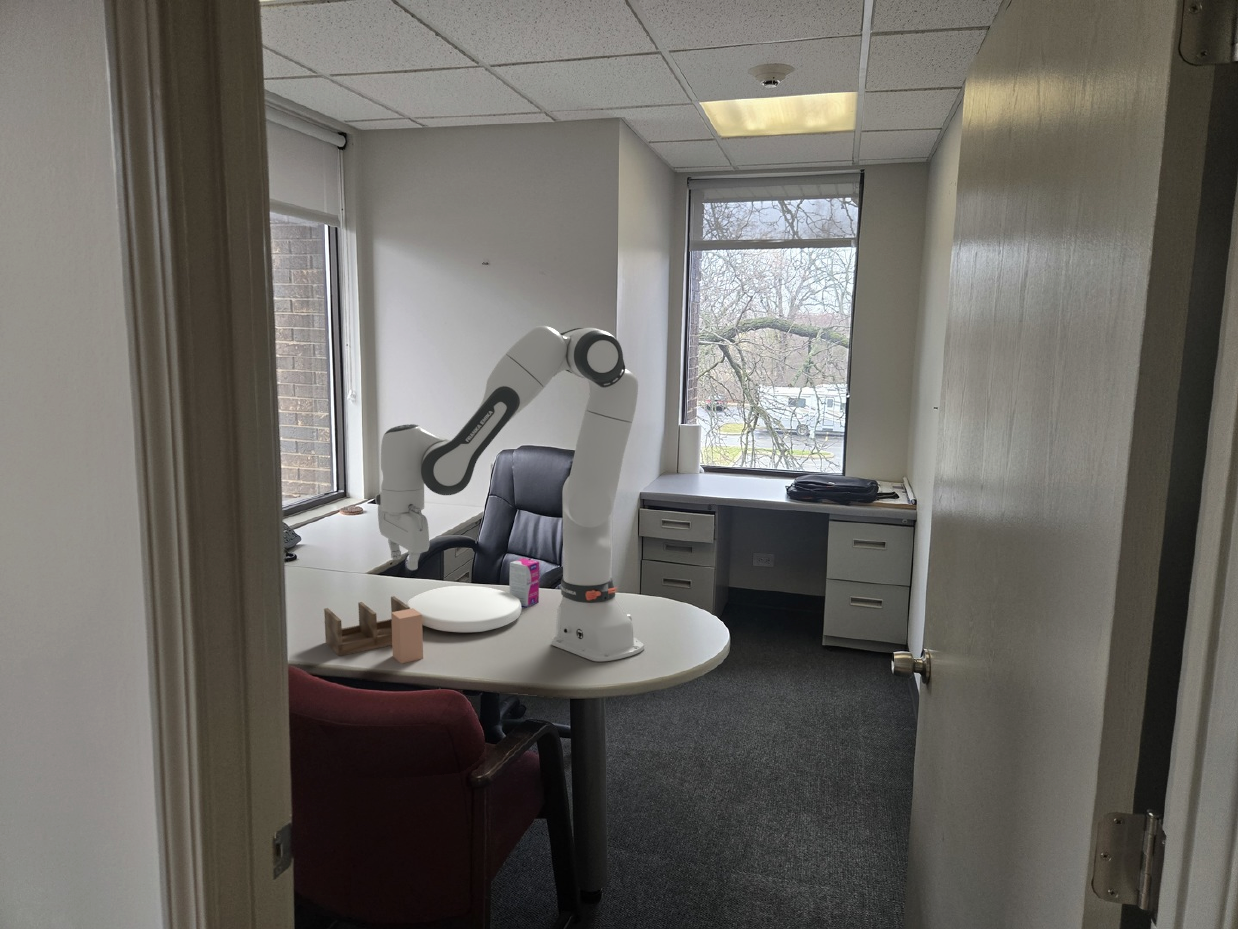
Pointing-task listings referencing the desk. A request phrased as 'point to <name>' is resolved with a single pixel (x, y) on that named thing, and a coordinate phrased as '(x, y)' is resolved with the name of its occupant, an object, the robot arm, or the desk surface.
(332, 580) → the desk surface
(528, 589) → the supplement box
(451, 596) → the plate
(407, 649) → the terracotta block
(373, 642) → the desk organiser
